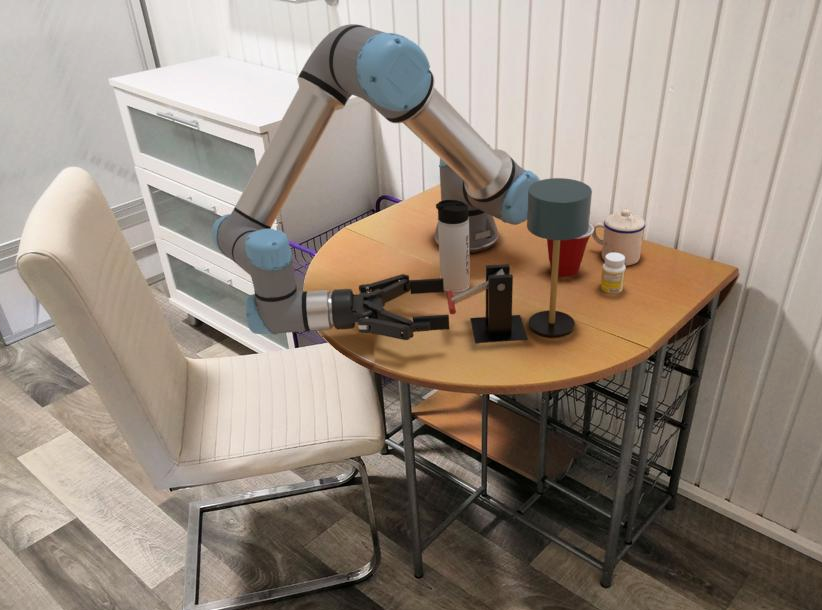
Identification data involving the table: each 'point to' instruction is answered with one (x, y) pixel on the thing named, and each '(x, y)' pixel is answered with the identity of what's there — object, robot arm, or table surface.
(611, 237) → the lidded enamel mug
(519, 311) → the table surface
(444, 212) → the travel mug
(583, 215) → the desk lamp
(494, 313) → the switch base
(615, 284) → the supplement bottle
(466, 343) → the table surface
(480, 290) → the switch lever
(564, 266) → the plastic cup
